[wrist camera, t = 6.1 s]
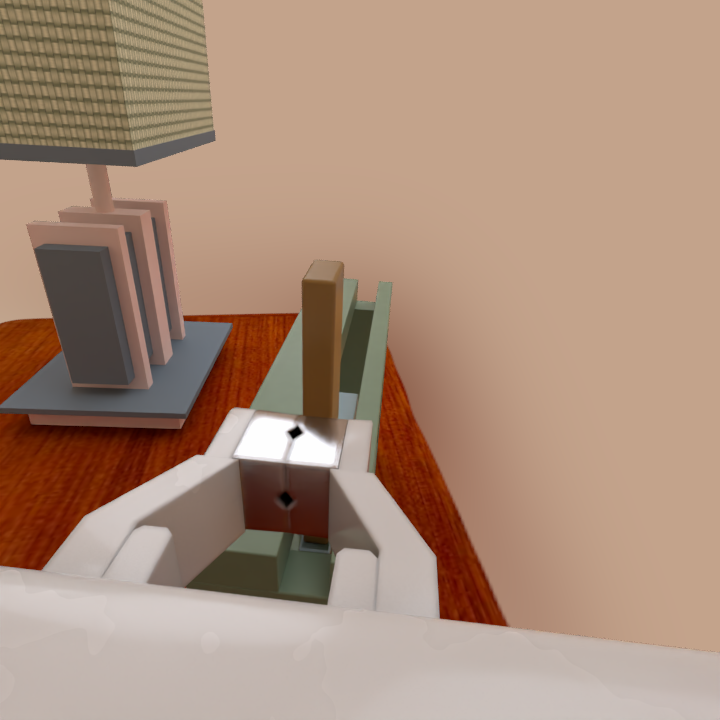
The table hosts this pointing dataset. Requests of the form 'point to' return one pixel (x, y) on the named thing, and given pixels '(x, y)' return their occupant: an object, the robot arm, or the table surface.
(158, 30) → the desk lamp
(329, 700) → the robot arm
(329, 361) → the window pane
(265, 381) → the window frame
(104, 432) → the table surface
